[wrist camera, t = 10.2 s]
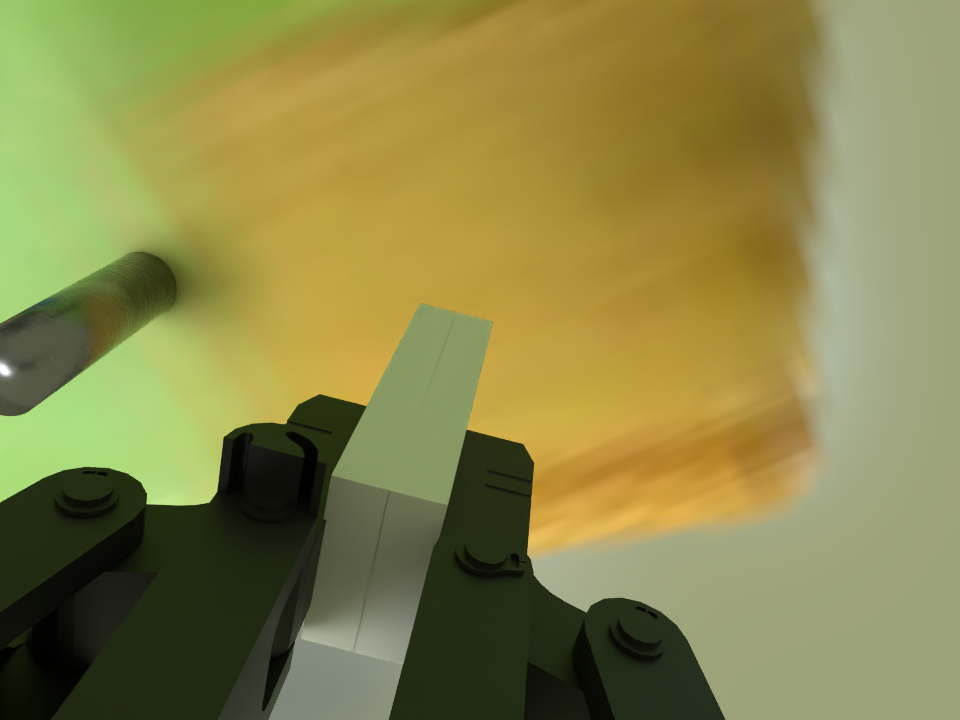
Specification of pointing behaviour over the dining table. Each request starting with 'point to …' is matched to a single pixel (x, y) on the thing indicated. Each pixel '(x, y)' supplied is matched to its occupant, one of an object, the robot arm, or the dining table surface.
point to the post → (78, 328)
